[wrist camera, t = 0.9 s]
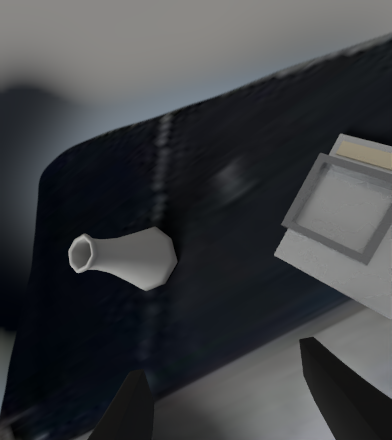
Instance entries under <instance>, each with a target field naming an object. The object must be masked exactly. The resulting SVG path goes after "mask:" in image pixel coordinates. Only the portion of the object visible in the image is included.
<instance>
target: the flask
mask: <svg viewBox="0 0 392 440" xmlns="http://www.w3.org/2000/svg"><path fill="white" fill-rule="evenodd" d="M68 252H69V260H70V265H71V266H72V268H73V269H74V270H75V271H76V272H77V273H81V272H83V271H85V270H88V269H92V270H100V271H104V272H109V273H112V274H114V275H116V276H118V277H120V278H122V279H124V280H126V281H128V282H130V283H132V284H134V285H136V286H138V287H139V288H141V289H143V290H145V291H147V290H150V289H152V288H155V287H157V286H160V285H162V284H165V283H166V281H167V280H168V278H169V276H170V274H171V273H172V271H173V269H174V267H175V266H176V264H177V258H176V254H175V251H174V247H173V243H172V239H171V238H170V237H169V236H167V235H166V234H165V233H163V232H162V231H161V230H159V229H158V228H157V227H152V228H149V229H146V230H143V231H140V232H137V233H134V234H130V235H127V236H123V237H120V238H115V239H104V240H100V239H92V238H91V237H90V236H89V235H87V234H83V235H81V236H80V237H78V238H76V239H75V240H74V242H73V243H72V245H71V247H70V249H69V251H68Z"/></svg>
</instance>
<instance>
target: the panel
mask: <svg viewBox="0 0 392 440" xmlns="http://www.w3.org/2000/svg"><path fill="white" fill-rule="evenodd" d="M281 225H282V226H283V227H285V228H287V229H288V230H287V232H286V234H285V236H284V237H283V239H282V241H281V243H280V245H279V247H278V248H277V250H276V252H275V254H274V255H275V256H277V257H278V258H280V259H282V260H284V261H286V262H287V263H289V264H291V265H293V266H295V267H296V268H298V269H300V270H302V271H304V272H306V273H307V274H309V275H311V276H313V277H315V278H316V279H318V280H320V281H322V282H324V283H325V284H327V285H329V286H331V287H333V288H334V289H336V290H338V291H340V292H342V293H344V294H345V295H347V296H349V297H351V298H353V299H354V300H356V301H358V302H360V303H362V304H363V305H365V306H367V307H369V308H371V309H373V310H374V311H376V312H378V313H380V314H382V315H383V316H385V317H387V318H389V319H391V320H392V146H388V145H384V144H380V143H376V142H372V141H368V140H364V139H360V138H356V137H352V136H348V135H344V134H340V135H339V137H338V139H337V141H336V143H335V144H334V146H333V148H332V150H331V152H330V154H329V155H326V154H323V153H320V154H319V156H318V158H317V160H316V161H315V163H314V165H313V167H312V169H311V171H310V172H309V174H308V176H307V178H306V180H305V182H304V183H303V185H302V187H301V189H300V191H299V193H298V194H297V196H296V198H295V200H294V202H293V204H292V205H291V207H290V209H289V211H288V213H287V215H286V216H285V218H284V220H283V222H282V224H281Z"/></svg>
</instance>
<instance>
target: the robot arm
mask: <svg viewBox="0 0 392 440" xmlns="http://www.w3.org/2000/svg"><path fill="white" fill-rule="evenodd" d="M299 341H300V349H301V358H302V366H303V375H304V378H305V380H306V382H307V385H308V387H309V389H310V392H311V394H312V396H313V398H314V401H315V403H316V404H317V406H318V408H319V410H320V412H321V414H322V415H323V417H324V419H325V421H326V423H327V425H328V426H329V428H330V430H331V432H332V434H333V436H334V437H335V439H336V440H392V399H391V398H389V397H388V396H386V395H385V394H384V393H382V392H381V391H379V390H378V389H377V388H375V387H374V386H373V385H371V384H370V383H368V382H367V381H366V380H364V379H363V378H362V377H361V376H359V375H358V374H357V373H356V372H354V371H353V370H352V369H350V368H349V367H348V366H347V365H345V364H344V363H343V362H342V361H341V360H339V359H338V358H337V357H336V356H335V355H334V354H332V353H331V352H330V351H329V350H328V349H327V348H325V347H324V346H323V345H322V344H321V343H320V342H319V341H318V340H316V339H315V338H314V337H309V338H304V339H299ZM153 418H154V401H153V398H152V394H151V391H150V388H149V385H148V382H147V379H146V376H145V373H144V370H143V369H140V370H135V371H130V373H129V374H128V376H127V377H126V379H125V381H124V382H123V384H122V386H121V387H120V389H119V391H118V393H117V394H116V396H115V398H114V399H113V401H112V403H111V404H110V406H109V407H108V409H107V410H106V412H105V414H104V415H103V417H102V418H101V420H100V422H99V423H98V425H97V426H96V428H95V429H94V431H93V432H92V433H91V435H90V436H89V438H88V439H87V440H151V438H152V431H153Z"/></svg>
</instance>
